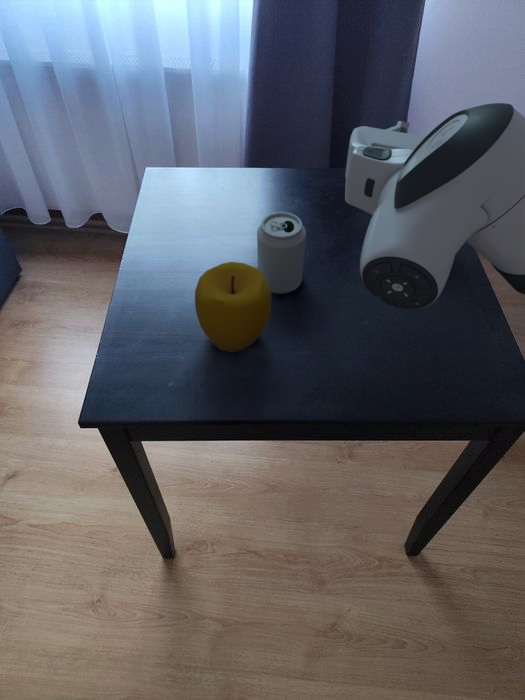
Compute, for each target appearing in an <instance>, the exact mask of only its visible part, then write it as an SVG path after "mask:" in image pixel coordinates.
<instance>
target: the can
mask: <svg viewBox="0 0 525 700" xmlns="http://www.w3.org/2000/svg"><path fill="white" fill-rule="evenodd" d="M256 234H257V235H256V237H257V238H256V241H257V243H256V244H257V248H256V249H257V269H259V270H260V271H261V272H262V273H264V275H265V277H266V279H267V282H268V284H269V286H270V290H271V293H273V294H279V295H281V294H282V295H283V294H287V293H290V292H293V291H295V290H296V289H298V288H299V287H300V285H301V284H302V283H303V282H302V281H303V278H304V277H303V276H304V262H305V249H306V236H307V231H306V228H305V226H304V225H303V222H302V219H300V217H298V216H297V215H295V214H294V213H292V212H291V213H290V212H288V211H287V212H286V211H276V212H272V213H269V214H268V215H266V216H264V217H263V219H262V220H261V223H260V225H259V226H258V228H257V230H256Z"/></svg>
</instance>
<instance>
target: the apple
mask: <svg viewBox="0 0 525 700" xmlns="http://www.w3.org/2000/svg"><path fill="white" fill-rule="evenodd" d="M194 307H195V314H196V317H197V320H198V322H199V325H200V328H201V329H202V331H203V333H204V334H205V336H206V337H207V338H208V339H209V341H210V342H211V343H212V344H213V345H214V346H215V347H217V348H218V349H219V350H221V351H223V352H228V353H236V352H237V353H238V352H239V351H242V350H244V349H246V348H247V347H249V346H251V345H252V344H254V342H256V340H257V339H258V338H259V337H260V336H261V335H262V333H263V332H264V330H265V329H266V327H267V325H268V323H269V320H270V316H271V313H272V312H271V310H272V292H271V290H270V286H269V284H268V282H267V279H266V277H265V275H264V273H262V272H261V271H260V270H259V269H258V267H255V266H252V265H250V264H247V263H244V262H238V261H237V262H236V261H228V262H222V263H220V264H218V265H216V266H214V267H211V268H209V269H207V270H206V271H204V272H203V273H202V275H200V277H199V278H198V282H197V284H196V287H195V290H194Z"/></svg>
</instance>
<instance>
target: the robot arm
mask: <svg viewBox="0 0 525 700" xmlns="http://www.w3.org/2000/svg"><path fill="white" fill-rule="evenodd" d="M410 123H411V122H406V121H403V120H398V121H397V123H396V125H394V126H391V127H389V128H386V129H383V128H377V127H372V126H366V125H362V126H358V127H355V128H354V129H353V130H352V133H351V135H350V139H349V144H348V145H349V146H348V149H347V158H346V165H345V175H344V177H345V186H344V187H345V188H344V200H345V203H346V204H349V205H350V206H352V207H355V208H357V209H360V210H362V211H363V212H366V213H368V214H369V215H371V216H372V217H370V221H369V223H368V226H367V229H366V232H365V236H364V239H363V243H362V247H361V252H360V257H359V258H360V259H359V275H360V277H361V281H362V284H363V285H364V287H365V288H366V290H368V291H369V292H370V293H371V294H373V295H374V296H375V297H376V298H378V299H379V300H380V301H382V302H384V303H385V304H387V305H389V306H391V307H394V308H398V309H402V310H419V309H423V308H426V307H429V306H431V305H432V304H434V303H435V302H436V301H437V300H438V299H439V297H440V296H441V294H442V292H443V291H444V288H445V286H446V284H447V283H448V282H447V281H448V279H449V276H450V274H451V272H452V271H451V270H452V268H453V264H454V261H455V258H456V255H457V253H458V252H459V251H460V249H461V248H462V247H463V245H465V244H466V243H467V244H468V245H469V246H470V247H472V249H474V250H475V251H476V252H477V253H479V254H480V255H481V256H482V257H483V258H484V259H486V260H487V261H488V262H489V263H490V264H491V266H492V267H493V268H494V270H496V271H497V272H498V273H499V275H500V276H501V277H502V278H503V279H504V280H505V281H506V282H507V283H508V284H509V285H510V286H511V288H513V289H514V291H516V292H518V293H520V294H522V295H525V117H524V115H523V114H522V113H521V112H519V111H518V110H517V109H516V108H515V107H514V106H513V104H511V103H504V102H494V103H486V104H481V105H476V106H473V107H469V108H466V109H463V110H459V111H456V112H455V113H453V114H451V115H450V116H448V117H447V118H446V119H444V120H443V121H441V123H439V124H438V125H437V126H435V127H434V128H433V129H432V130H430V132H429V133H428V134H426V136H424V135H419V134H414V133H409V128H410Z"/></svg>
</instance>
